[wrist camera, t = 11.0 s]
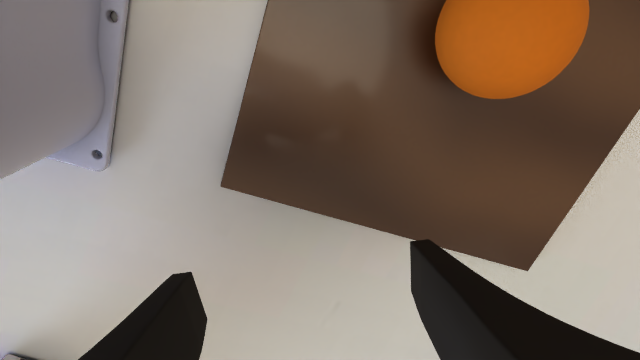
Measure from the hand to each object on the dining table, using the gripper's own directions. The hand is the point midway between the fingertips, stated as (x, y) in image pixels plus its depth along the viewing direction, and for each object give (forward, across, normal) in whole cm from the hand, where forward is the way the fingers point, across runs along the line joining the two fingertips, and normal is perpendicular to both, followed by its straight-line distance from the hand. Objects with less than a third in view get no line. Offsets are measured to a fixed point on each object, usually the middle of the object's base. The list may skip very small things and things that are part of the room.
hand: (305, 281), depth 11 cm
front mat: (+9, -9, -4) cm, 14 cm away
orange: (+9, -10, -6) cm, 15 cm away
